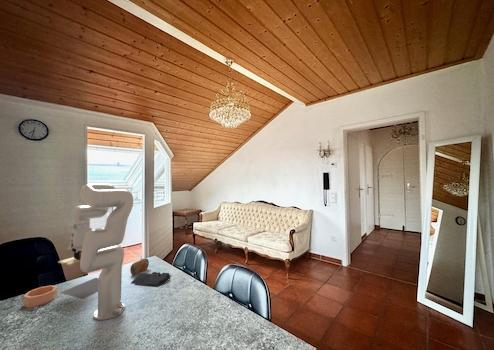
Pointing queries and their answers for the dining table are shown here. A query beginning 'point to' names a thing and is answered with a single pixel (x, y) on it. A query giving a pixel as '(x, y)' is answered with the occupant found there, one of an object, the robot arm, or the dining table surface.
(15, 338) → the dining table surface
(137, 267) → the tin
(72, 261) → the beech lid
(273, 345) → the dining table surface
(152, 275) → the dark slate chunk
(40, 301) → the terracotta bowl
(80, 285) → the rubber mat
